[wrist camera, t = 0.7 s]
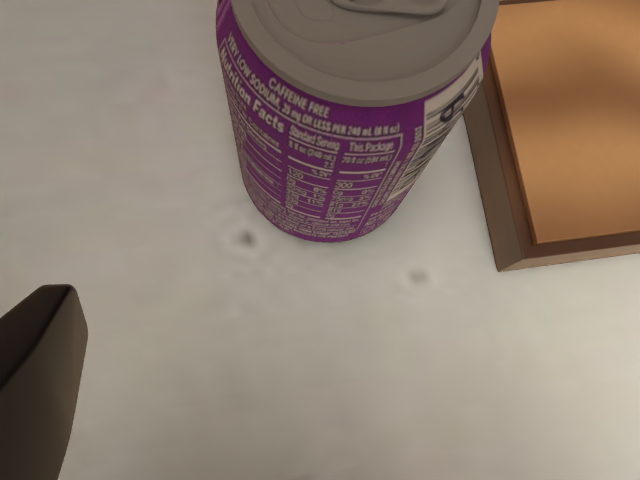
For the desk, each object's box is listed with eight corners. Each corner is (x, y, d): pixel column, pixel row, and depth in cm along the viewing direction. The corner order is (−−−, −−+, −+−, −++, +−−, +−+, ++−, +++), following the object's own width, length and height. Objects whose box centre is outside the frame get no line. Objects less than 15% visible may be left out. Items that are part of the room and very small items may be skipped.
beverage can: (400, 89, 25) (502, -153, 14) (413, 244, 24) (540, 118, 12) (240, 90, 25) (205, -160, 13) (242, 249, 23) (204, 122, 12)
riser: (738, 240, 25) (799, 221, 22) (497, 272, 24) (527, 257, 21) (668, 18, 27) (714, -25, 24) (446, 38, 26) (467, -4, 23)
